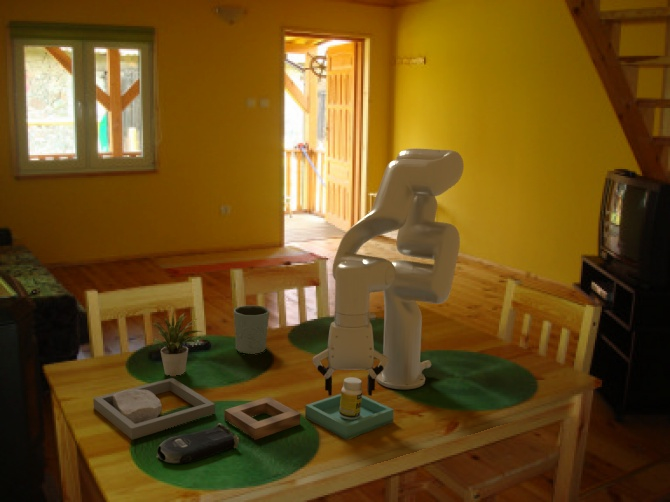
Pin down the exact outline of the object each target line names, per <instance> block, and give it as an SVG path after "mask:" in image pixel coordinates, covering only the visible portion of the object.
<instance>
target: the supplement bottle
mask: <svg viewBox="0 0 670 502" xmlns="http://www.w3.org/2000/svg"><path fill="white" fill-rule="evenodd" d="M362 383H363V381H362V380H361V379H360V378H358V377H345V378H344V379H343V385H342V388H341V393H340V394H341V400H340V410H339V415H340V416H341V417H342V418H344V419H349V420H354V419H358V418H359V417H360V410H361V400H362V395H363V390H362Z"/></svg>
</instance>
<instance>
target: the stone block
mask: <svg viewBox="0 0 670 502" xmlns="http://www.w3.org/2000/svg"><path fill="white" fill-rule="evenodd" d="M130 389H131V388H130ZM120 391H121V392H119V391H117V392H118V393H116V394H114V395H113V407H114V408H115V409H117V410H118V411H119V412H120V413H122V414H123V415H124V416H125V417H127V418H128V419H129V420H131V421H132V422H133V423H134V424H137V423H141V422H144V421H148V420H151V419H155V418H158V417H159V415H160V414H161V412H162V406H163V405H162V403H161V400H160V399H159V398H158V397H157V396H156V395H154V394H153V393H152V392H151V391H148V390H145V389H131V390H127V389H124V391H123V390H120Z"/></svg>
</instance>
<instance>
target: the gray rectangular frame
mask: <svg viewBox="0 0 670 502" xmlns="http://www.w3.org/2000/svg"><path fill="white" fill-rule="evenodd" d="M131 389H145V390H148V391H151V392H152V393H153V394H154V395H155V396H156V395H158V394H160V395H161V394H163V393H167V392H172V393H173V394H175V395H177V396H178V397H179V398H181V399H182V400H184V401H185V402H187V403H188V404H190V405H191V406H192V407H189V408H185V409H182V410H179V411H176V412H175V411H174V412H173V413H169V414H166V415H162V416H158V417H157V418H155V419H151V420H148V421H143V422H140V423H136V424H134V423H133V422H132V421H131V420H129V419H128V418H127V417H125V416H124V415H123V414H122V413H120V412H119V411H118V410H117V409H115V408H114V407H113V395H114V394H116V393H118V392H121V391H124V390H125V389H124V390H119V391H114V392H112V393H107V394H104V395H101V396H96V397H93V400H92V401H93V409H94V410H96V411H97V412H98V413H99V414H100V415H101V416H103V417H104V418H105V419H106V420H108V421H109V422H110V423H111V424H112V425H113V426H115V427H116V428H117V429H119V431H121V432H122V433H123V434H124V435H126V436H127V437H128V438H129V439H131V440H136V439H139V438H142V437H145V436H146V437H147V436H148V435H152V434H156V433H159V432H163V431H165V429H166V430H168V428H169V429H171V427H172V428H175V427H178V426H177V425H179V426H181V425H180V424H182V425H184V424H183V423H185V424H187V423H186V422H189V421H192V420H194V419H197V418H199V417H203V416H206V415H210V414H214V413H215V414H216V404H215V402H213V401H211V400H210V399H208V398H207V397H204V396H203V395H201V394H200V393H198V392H196V391H194V390H193V389H192V388H190V387H188V386H187V385H185V384H183V383H182V382H181V381H178V380H177V379H175V378H174V377H170V378H167V379H163V380H159V381H158V380H157V381H154V382H151V383H147V384H143V385H139V386H135V387H131V388H127V389H126V390H131ZM192 422H193V421H192ZM189 423H190V422H189ZM174 426H175V427H174Z"/></svg>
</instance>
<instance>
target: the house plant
mask: <svg viewBox="0 0 670 502" xmlns="http://www.w3.org/2000/svg"><path fill="white" fill-rule="evenodd" d="M184 315H185V312H184V313H182V314H180V316H179V317H178V318H177V321H176V323H175V311H173V312H172V315H171V323H170V320H168V319H167V317H165V316H163V317H164V320H162V319H160V318H159V320H160V321H162V322H163V323H164V324H165V326H166V329H167V330H165V329H164V327H163V326H162V325H161V324H160V323H159V322H158V321H156V320H154V322H153V321H151V325H153V326H155V327H156V328H157V329H158V330H159V331H158V332H157V333H158V334H159V335H160V336H161V337H163V339H165V341H166V342H163V341H162V339H161V340H160V339H158V338H154V339H153V340H152V341H151V344H153V345H152V347H153V346H155V345H157V344H164V347H163V348H161V349H160V355H161V360H162V364H163V370H164V375H166V376H168V375H170V376H169V377H177V376H176V375H180V376H182V375H181V374H183V373H184V372H185V373H186V368H187V360H188V354H189V348H188V347H187V346H184V344H185V343H195V344H197V343H196V341H195V340H197V341H199V342H200V339H199V338H198V337H197V336H194V335H193V336H190V335H191V334H195V333H202V332H204V331H202V330H190V329H192V328H191V327H194V326H196V325H194V324H192V323H193V322H194V321H195V322H196V321H197V320H198V318H195V319H192V320H191V321H190V322H189V323H187V324H186V326H184V327H183V328H181V327H182V325H183V322H184V319H185V318H186V317H187V316H188V313H187V314H186V315H185V316H184ZM156 319H157V320H158V318H156ZM164 321H165V322H164ZM145 325H150V323H148V322H147V323H145ZM194 339H195V340H194ZM185 373H184V374H185ZM184 374H183V375H184Z"/></svg>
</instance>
